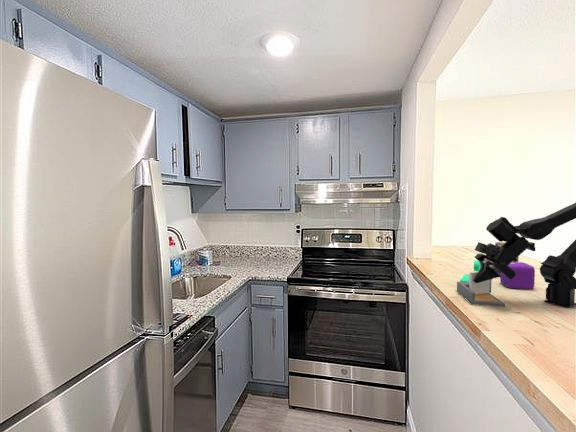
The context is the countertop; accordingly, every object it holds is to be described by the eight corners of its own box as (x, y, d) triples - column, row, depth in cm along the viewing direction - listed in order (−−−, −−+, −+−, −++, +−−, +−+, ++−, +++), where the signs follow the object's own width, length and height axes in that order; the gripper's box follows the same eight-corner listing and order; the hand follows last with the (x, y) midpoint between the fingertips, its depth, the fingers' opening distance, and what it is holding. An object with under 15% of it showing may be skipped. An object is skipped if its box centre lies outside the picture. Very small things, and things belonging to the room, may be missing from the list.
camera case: (483, 291, 119) (484, 281, 119) (505, 306, 103) (505, 294, 103) (455, 290, 121) (455, 280, 121) (471, 304, 105) (472, 292, 105)
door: (491, 292, 113) (492, 270, 113) (471, 295, 110) (471, 273, 109) (488, 291, 114) (489, 270, 114) (468, 294, 111) (468, 272, 111)
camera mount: (464, 280, 137) (464, 257, 137) (484, 283, 132) (485, 259, 132) (459, 286, 128) (460, 261, 127) (481, 289, 123) (482, 263, 122)
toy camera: (517, 281, 134) (518, 258, 134) (540, 290, 121) (541, 265, 120) (491, 281, 135) (491, 258, 135) (510, 290, 122) (511, 264, 121)
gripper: (480, 231, 117) (448, 261, 119) (504, 237, 98) (466, 271, 101) (503, 252, 115) (471, 281, 118) (532, 262, 97) (493, 296, 100)
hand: (474, 282), depth 109 cm, fingers closed
